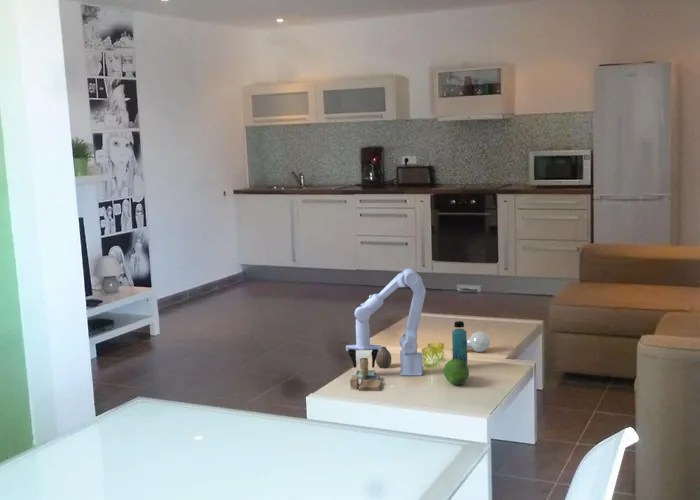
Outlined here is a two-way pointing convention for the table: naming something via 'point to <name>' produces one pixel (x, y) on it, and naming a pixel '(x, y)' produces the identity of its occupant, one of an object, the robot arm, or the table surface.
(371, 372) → the tray
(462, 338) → the beverage bottle
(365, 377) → the collar
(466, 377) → the fruit
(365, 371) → the dowel
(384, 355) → the vase
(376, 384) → the board
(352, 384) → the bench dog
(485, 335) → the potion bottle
